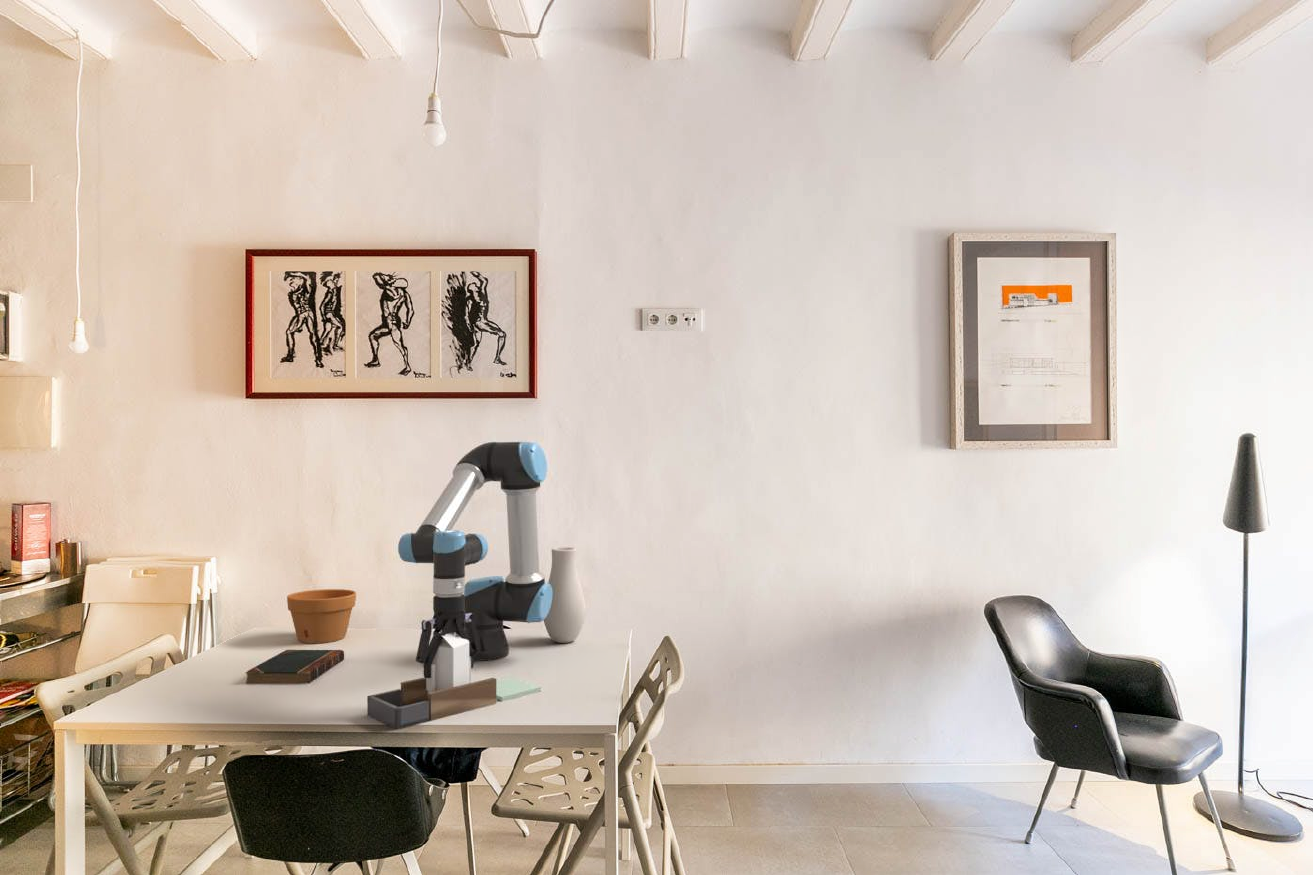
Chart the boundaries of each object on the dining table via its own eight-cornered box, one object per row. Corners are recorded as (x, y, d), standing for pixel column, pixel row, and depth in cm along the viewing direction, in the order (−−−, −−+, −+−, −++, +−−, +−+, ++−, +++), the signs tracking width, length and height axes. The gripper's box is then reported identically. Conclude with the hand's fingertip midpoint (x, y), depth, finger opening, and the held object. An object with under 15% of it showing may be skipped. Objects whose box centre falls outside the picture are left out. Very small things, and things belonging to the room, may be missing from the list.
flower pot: (309, 630, 286) (310, 587, 286) (367, 632, 283) (367, 588, 283) (273, 645, 265) (273, 598, 265) (335, 647, 262) (335, 600, 262)
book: (286, 661, 247) (244, 685, 222) (286, 649, 247) (244, 672, 222) (344, 661, 247) (309, 685, 222) (344, 649, 247) (309, 672, 222)
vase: (551, 648, 261) (551, 552, 261) (536, 639, 273) (536, 547, 273) (591, 643, 267) (591, 549, 267) (575, 634, 279) (575, 545, 279)
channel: (400, 707, 202) (400, 682, 202) (465, 691, 215) (465, 668, 215) (430, 720, 192) (430, 694, 192) (496, 703, 205) (496, 678, 205)
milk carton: (469, 702, 205) (469, 625, 206) (453, 711, 199) (453, 631, 199) (444, 699, 208) (444, 623, 208) (427, 708, 201) (428, 629, 201)
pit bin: (367, 715, 196) (367, 696, 196) (398, 707, 201) (398, 689, 201) (396, 729, 186) (396, 709, 186) (428, 721, 192) (429, 701, 192)
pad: (472, 690, 216) (472, 686, 216) (511, 681, 224) (511, 677, 224) (501, 701, 207) (501, 697, 207) (540, 691, 215) (540, 687, 215)
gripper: (416, 602, 193) (415, 699, 193) (495, 590, 209) (495, 680, 209) (400, 598, 198) (399, 692, 198) (478, 587, 214) (478, 674, 214)
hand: (448, 686), depth 203 cm, fingers closed on milk carton, 9 cm apart
